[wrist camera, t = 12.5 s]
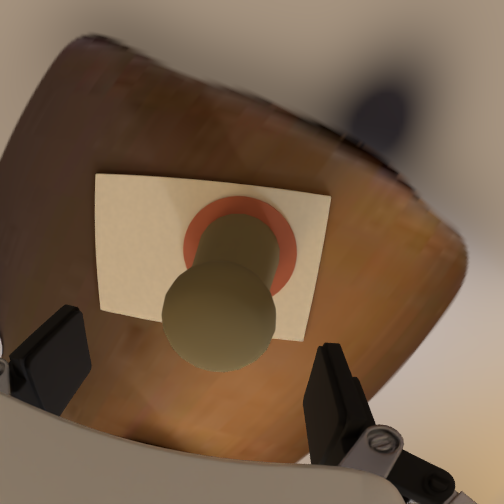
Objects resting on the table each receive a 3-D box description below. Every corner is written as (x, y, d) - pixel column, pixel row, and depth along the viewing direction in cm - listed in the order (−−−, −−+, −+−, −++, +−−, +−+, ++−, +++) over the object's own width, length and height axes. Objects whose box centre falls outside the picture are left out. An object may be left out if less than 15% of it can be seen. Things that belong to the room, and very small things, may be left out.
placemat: (102, 308, 25) (99, 310, 25) (97, 173, 22) (94, 173, 21) (302, 339, 25) (303, 342, 25) (330, 196, 21) (331, 196, 21)
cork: (219, 198, 21) (171, 240, 11) (295, 238, 22) (316, 313, 12) (185, 269, 23) (127, 354, 13) (255, 304, 24) (245, 408, 13)
